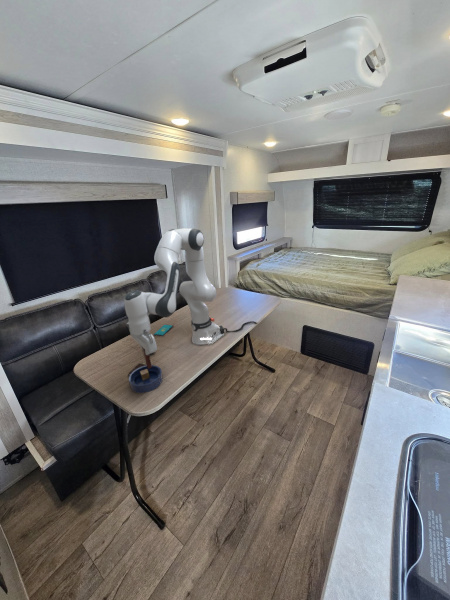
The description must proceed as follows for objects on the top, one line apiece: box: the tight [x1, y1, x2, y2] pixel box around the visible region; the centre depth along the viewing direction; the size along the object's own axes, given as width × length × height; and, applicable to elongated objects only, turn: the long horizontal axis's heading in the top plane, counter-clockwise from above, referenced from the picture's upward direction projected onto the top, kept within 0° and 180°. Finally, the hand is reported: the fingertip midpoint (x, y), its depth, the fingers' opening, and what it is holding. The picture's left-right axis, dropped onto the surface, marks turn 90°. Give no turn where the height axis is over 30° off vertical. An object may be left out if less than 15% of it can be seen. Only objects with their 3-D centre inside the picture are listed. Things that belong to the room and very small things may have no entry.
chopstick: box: [141, 347, 153, 369], centre depth 113 cm, size 2×2×15 cm
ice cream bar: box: [127, 361, 146, 376], centre depth 131 cm, size 5×2×15 cm
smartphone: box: [153, 324, 174, 337], centre depth 171 cm, size 7×1×15 cm
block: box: [140, 369, 150, 380], centre depth 123 cm, size 4×4×4 cm
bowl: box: [128, 364, 164, 394], centre depth 120 cm, size 16×16×5 cm
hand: (146, 352), depth 113 cm, fingers closed on chopstick, 2 cm apart
